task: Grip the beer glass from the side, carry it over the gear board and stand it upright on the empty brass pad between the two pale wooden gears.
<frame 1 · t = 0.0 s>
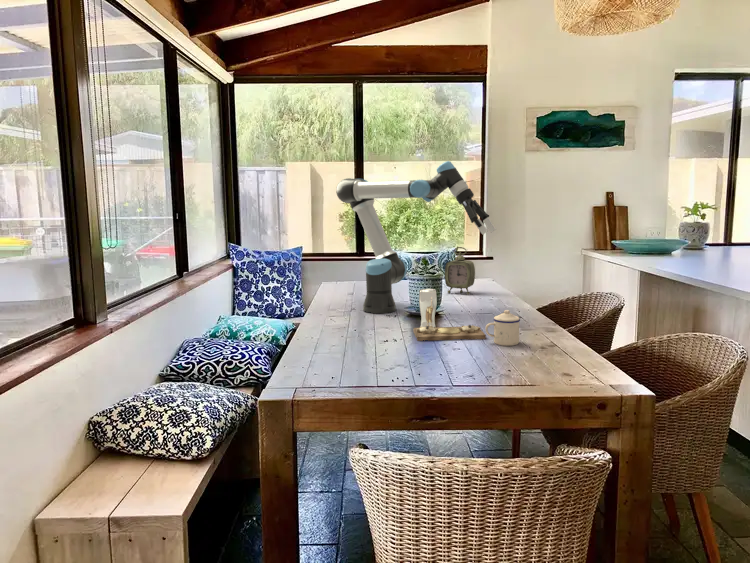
hand: (489, 232, 244), 36 cm above the table, tool tilted 35°, fingers open, 13 cm apart
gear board: (448, 335, 210), on the table
beer glass: (427, 327, 224), on the table
teacup with lid: (502, 343, 198), on the table
tabletop clock: (460, 293, 300), on the table
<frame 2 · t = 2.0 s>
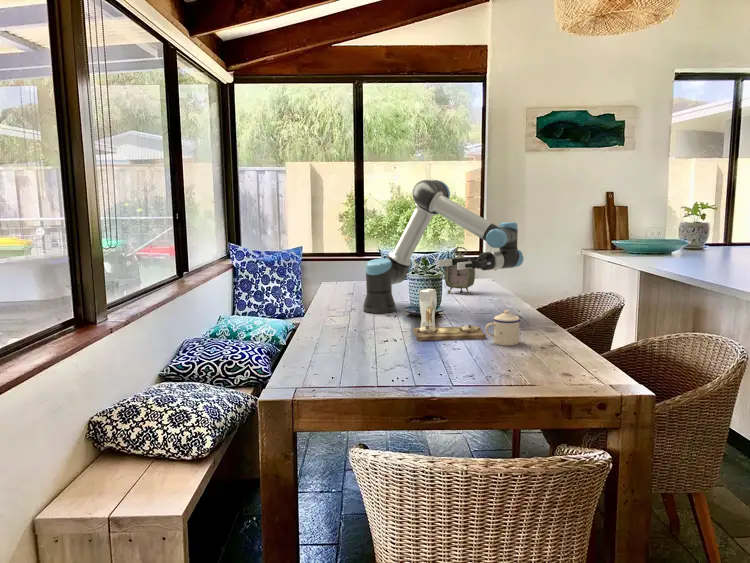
hand: (447, 264, 225), 24 cm above the table, tool horizontal, fingers open, 13 cm apart
nothing on the table moved.
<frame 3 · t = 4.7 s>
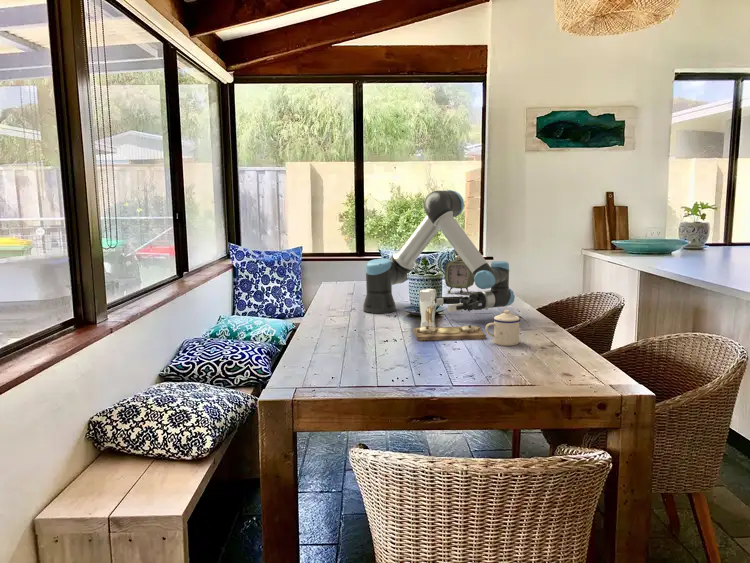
hand: (438, 305, 224), 8 cm above the table, tool horizontal, fingers open, 13 cm apart
nothing on the table moved.
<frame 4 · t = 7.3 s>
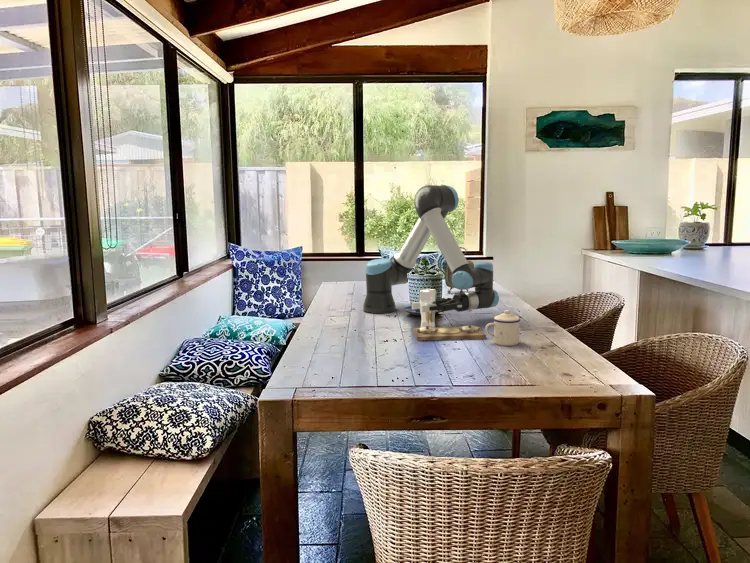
hand: (417, 307, 220), 9 cm above the table, tool horizontal, fingers closed on beer glass, 7 cm apart
beer glass: (427, 327, 224), on the table, touching gripper
everything else where it was.
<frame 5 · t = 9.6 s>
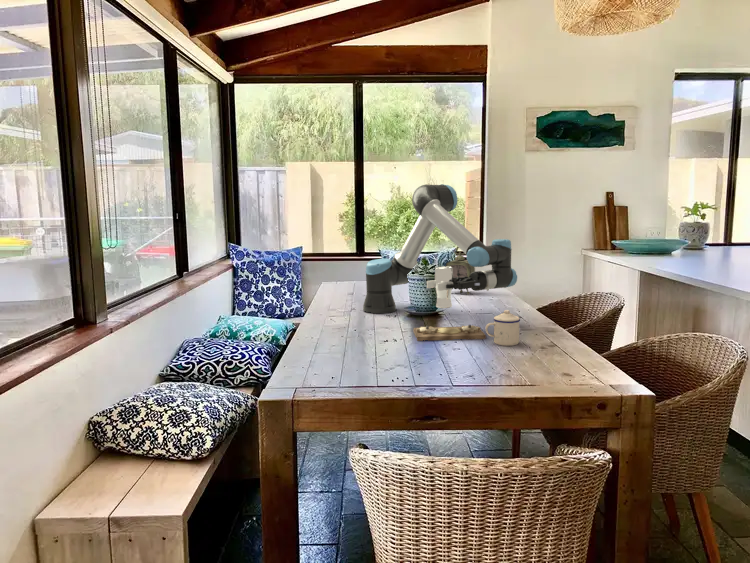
hand: (432, 285, 209), 19 cm above the table, tool horizontal, fingers closed on beer glass, 7 cm apart
beer glass: (443, 307, 213), point 10 cm above the table, touching gripper
everything else where it was.
when the fingers open (12 cm above the table, at t = 11.9 s): beer glass drops 1 cm, resting on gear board.
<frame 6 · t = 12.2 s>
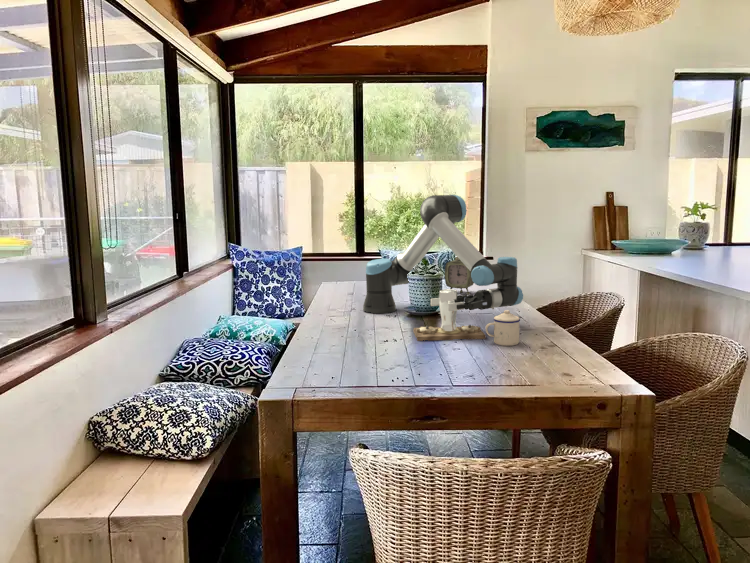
hand: (439, 304, 207), 12 cm above the table, tool horizontal, fingers open, 11 cm apart
beer glass: (448, 330, 210), point 2 cm above the table, touching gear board
everything else where it was.
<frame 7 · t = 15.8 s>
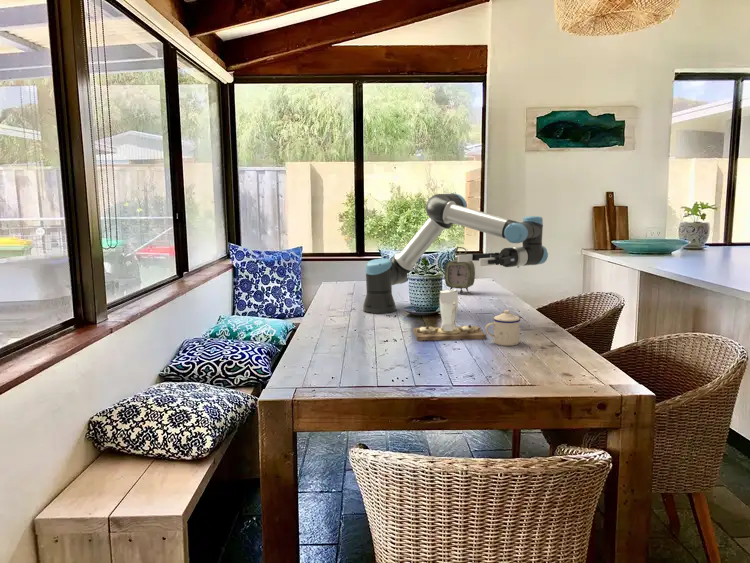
hand: (468, 260, 210), 28 cm above the table, tool horizontal, fingers open, 13 cm apart
nothing on the table moved.
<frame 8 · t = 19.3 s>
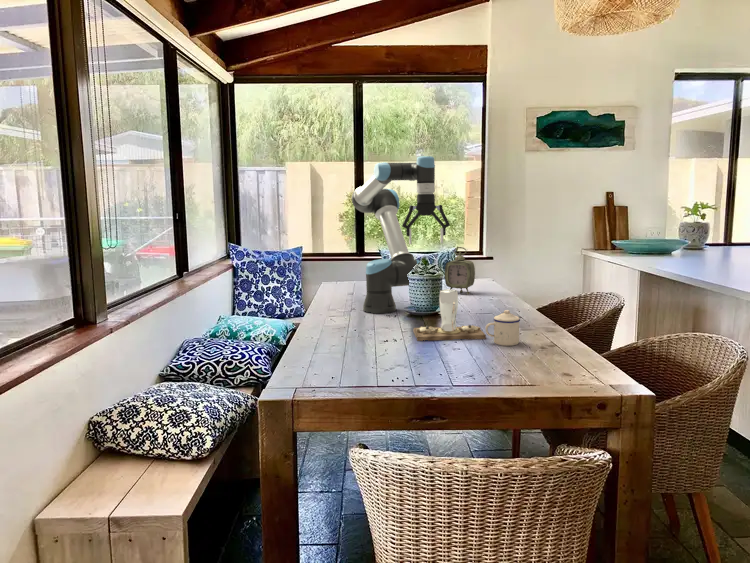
hand: (426, 243, 240), 32 cm above the table, tool pointing down, fingers open, 13 cm apart
nothing on the table moved.
at the end: beer glass 0.2 cm from the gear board (horizontally); beer glass tilted 0°; the gripper is holding nothing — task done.
